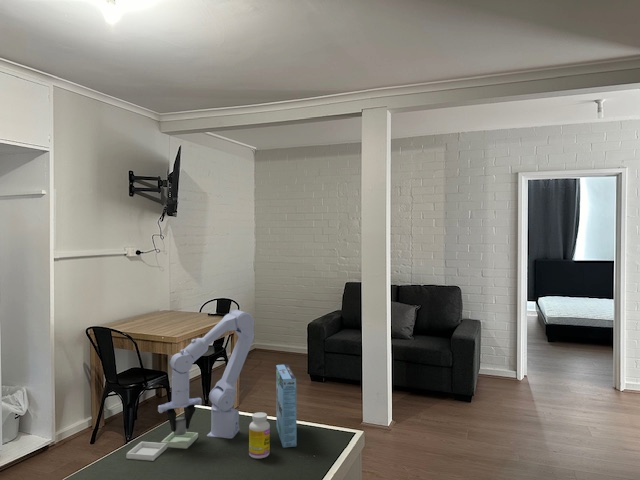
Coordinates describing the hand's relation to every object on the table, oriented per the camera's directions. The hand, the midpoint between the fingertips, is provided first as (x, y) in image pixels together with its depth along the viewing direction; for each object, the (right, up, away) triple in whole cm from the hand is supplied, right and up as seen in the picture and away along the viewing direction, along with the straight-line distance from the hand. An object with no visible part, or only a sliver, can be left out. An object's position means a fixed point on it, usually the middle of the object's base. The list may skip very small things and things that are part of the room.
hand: (180, 429), depth 162 cm
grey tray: (-8, -5, -9) cm, 13 cm away
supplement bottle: (+28, -5, -8) cm, 30 cm away
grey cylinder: (0, -1, 0) cm, 1 cm away
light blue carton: (+35, -5, +7) cm, 36 cm away
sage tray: (0, -5, 0) cm, 5 cm away
